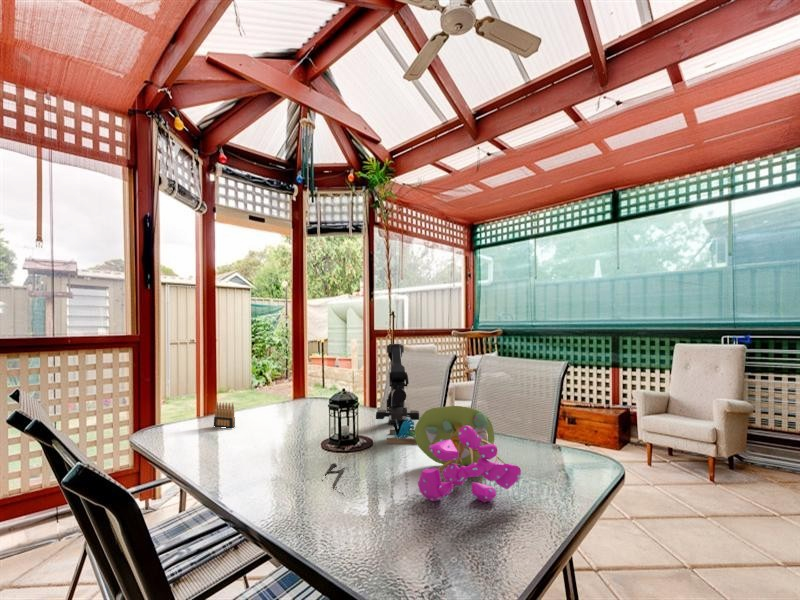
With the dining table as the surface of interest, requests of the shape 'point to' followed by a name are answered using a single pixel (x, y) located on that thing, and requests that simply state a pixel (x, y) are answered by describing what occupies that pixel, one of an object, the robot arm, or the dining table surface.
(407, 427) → the blue flower
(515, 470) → the pink berry cluster
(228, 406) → the ammunition clip
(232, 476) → the dining table surface
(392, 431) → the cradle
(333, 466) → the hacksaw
